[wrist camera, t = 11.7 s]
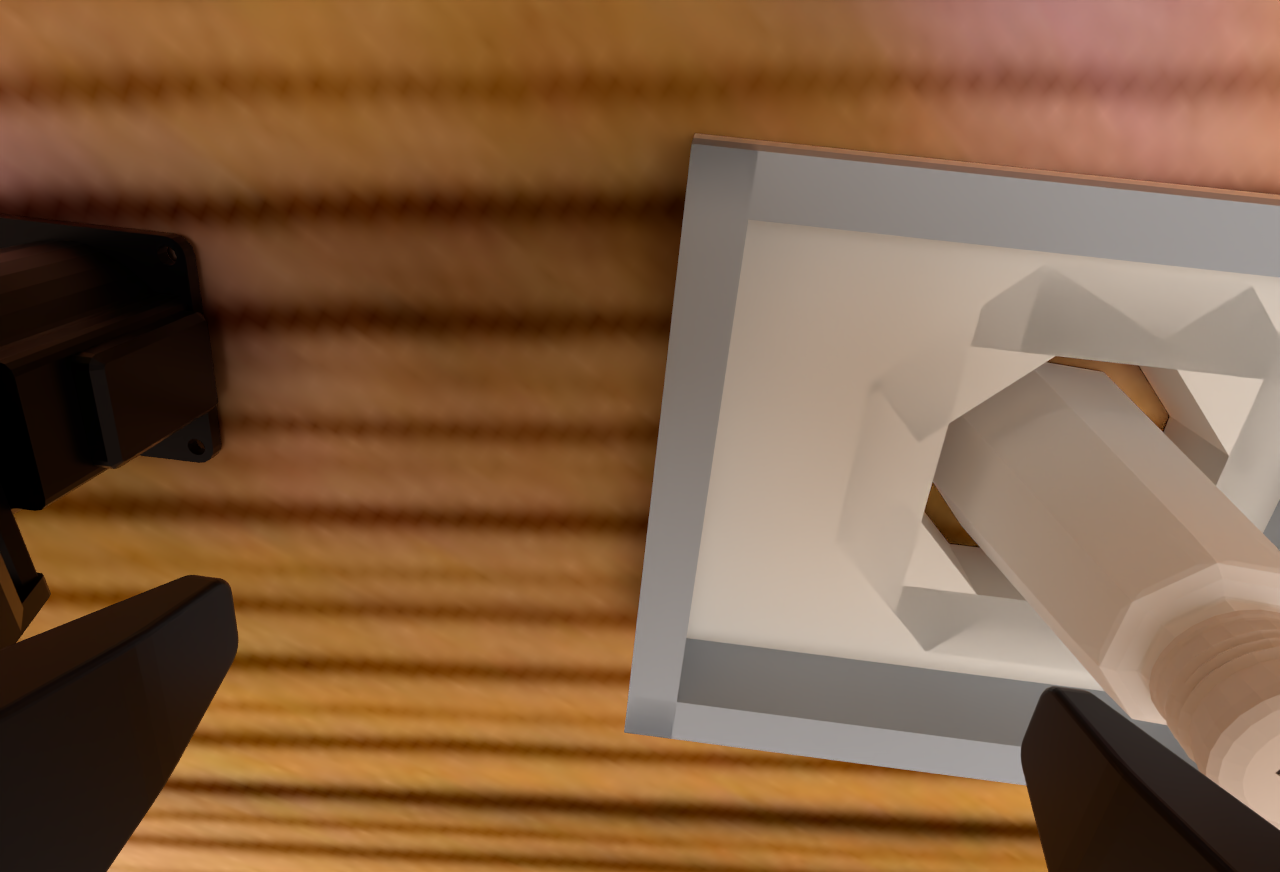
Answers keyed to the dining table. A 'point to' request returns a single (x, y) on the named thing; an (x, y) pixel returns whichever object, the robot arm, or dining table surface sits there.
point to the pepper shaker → (1130, 564)
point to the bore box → (911, 433)
